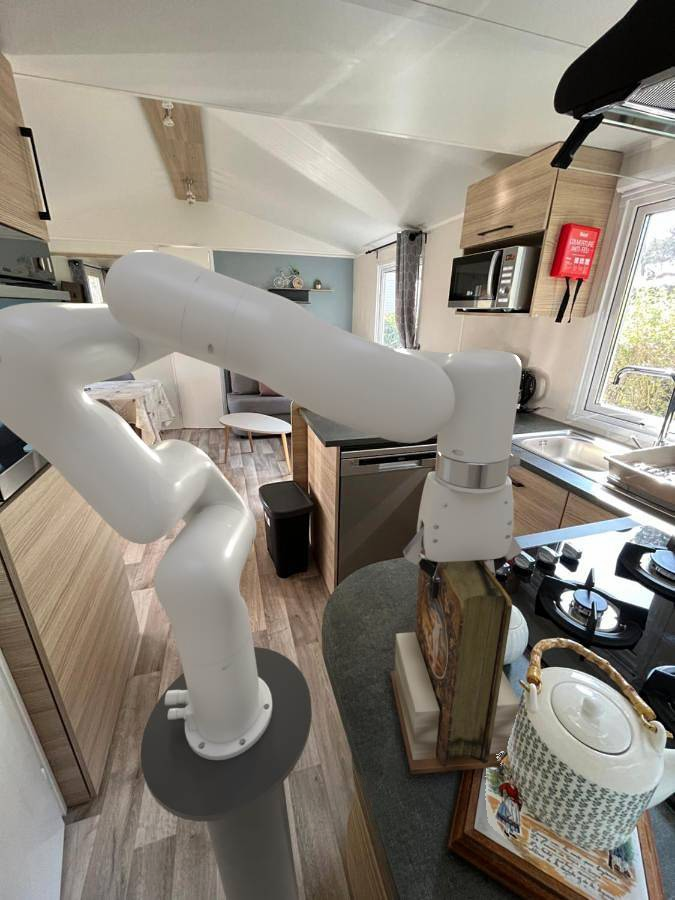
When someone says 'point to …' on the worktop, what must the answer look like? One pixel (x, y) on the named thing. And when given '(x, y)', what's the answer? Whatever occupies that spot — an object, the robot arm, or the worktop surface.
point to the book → (464, 654)
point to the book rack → (423, 713)
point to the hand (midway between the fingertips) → (457, 598)
